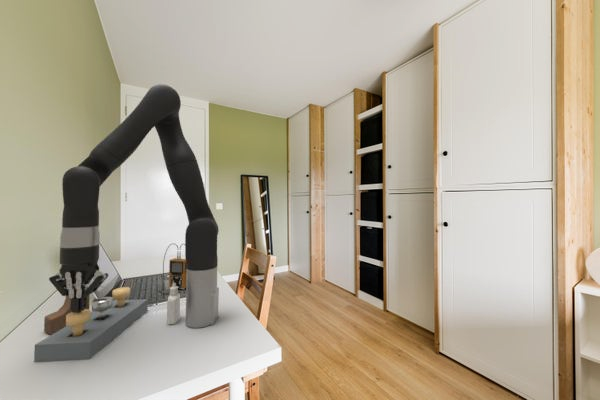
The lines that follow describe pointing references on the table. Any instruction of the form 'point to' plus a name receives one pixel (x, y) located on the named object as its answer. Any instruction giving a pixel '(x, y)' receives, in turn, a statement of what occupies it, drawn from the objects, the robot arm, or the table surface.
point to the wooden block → (59, 317)
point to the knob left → (78, 321)
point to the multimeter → (177, 271)
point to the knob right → (121, 295)
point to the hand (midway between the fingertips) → (78, 311)
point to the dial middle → (102, 306)
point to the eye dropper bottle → (173, 305)
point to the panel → (90, 334)
